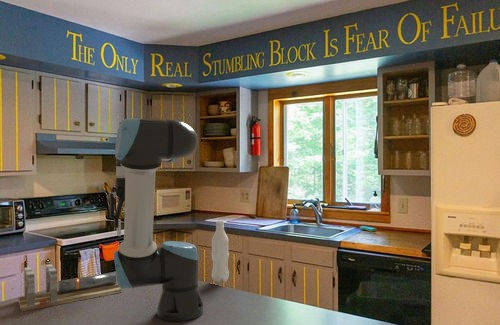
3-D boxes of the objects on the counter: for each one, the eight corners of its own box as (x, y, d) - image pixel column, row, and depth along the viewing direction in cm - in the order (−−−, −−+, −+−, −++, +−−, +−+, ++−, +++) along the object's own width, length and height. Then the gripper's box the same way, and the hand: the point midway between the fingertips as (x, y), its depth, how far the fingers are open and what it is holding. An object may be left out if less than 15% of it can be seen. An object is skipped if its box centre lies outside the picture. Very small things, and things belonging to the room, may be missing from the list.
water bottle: (220, 277, 172) (219, 219, 172) (232, 280, 168) (232, 221, 167) (208, 281, 167) (207, 221, 166) (220, 285, 162) (220, 223, 162)
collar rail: (121, 292, 154) (121, 262, 153) (21, 312, 135) (21, 277, 135) (112, 284, 164) (112, 255, 164) (18, 301, 145) (18, 268, 145)
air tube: (112, 283, 161) (112, 270, 160) (116, 286, 156) (116, 273, 156) (57, 293, 149) (57, 279, 149) (60, 296, 145) (60, 282, 145)
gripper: (145, 176, 169) (145, 231, 169) (99, 177, 159) (100, 236, 159) (151, 176, 163) (151, 233, 163) (104, 178, 153) (105, 239, 153)
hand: (126, 234), depth 161 cm, fingers open, 5 cm apart
